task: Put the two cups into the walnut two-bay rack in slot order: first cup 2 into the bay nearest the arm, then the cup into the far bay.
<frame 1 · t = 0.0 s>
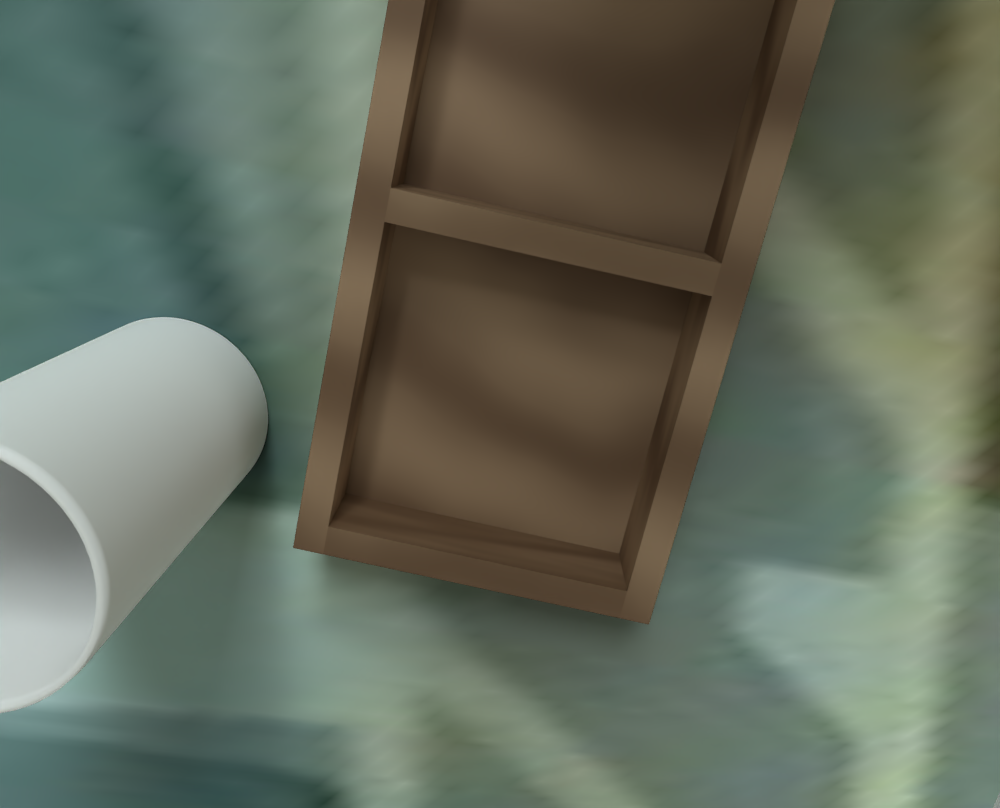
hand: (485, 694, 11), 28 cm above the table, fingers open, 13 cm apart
rack: (550, 230, 37), on the table
cup: (175, 410, 40), on the table
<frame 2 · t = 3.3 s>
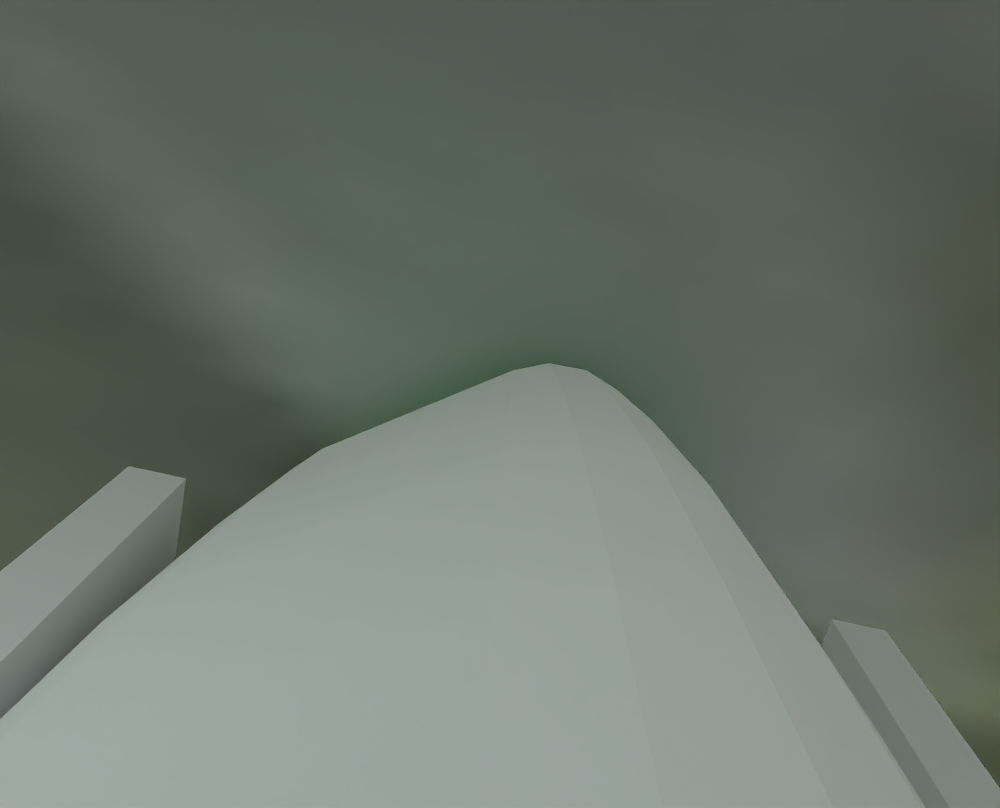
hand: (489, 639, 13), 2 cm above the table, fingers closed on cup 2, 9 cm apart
cup 2: (497, 554, 15), on the table, touching gripper
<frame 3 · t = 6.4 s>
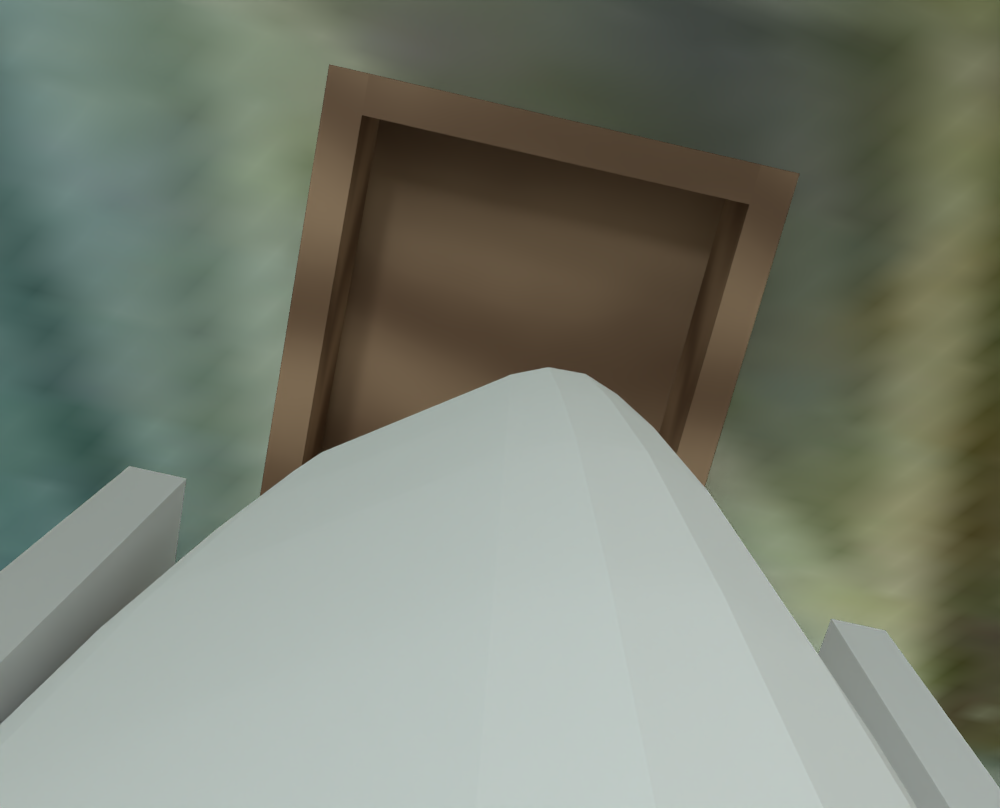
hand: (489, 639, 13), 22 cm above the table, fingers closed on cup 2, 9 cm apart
rack: (477, 487, 36), on the table
cup 2: (496, 558, 15), point 20 cm above the table, touching gripper
when the fingers open (5 cm above the table, at t = 9.8 s): cup 2 drops 2 cm, point 1 cm above the table.
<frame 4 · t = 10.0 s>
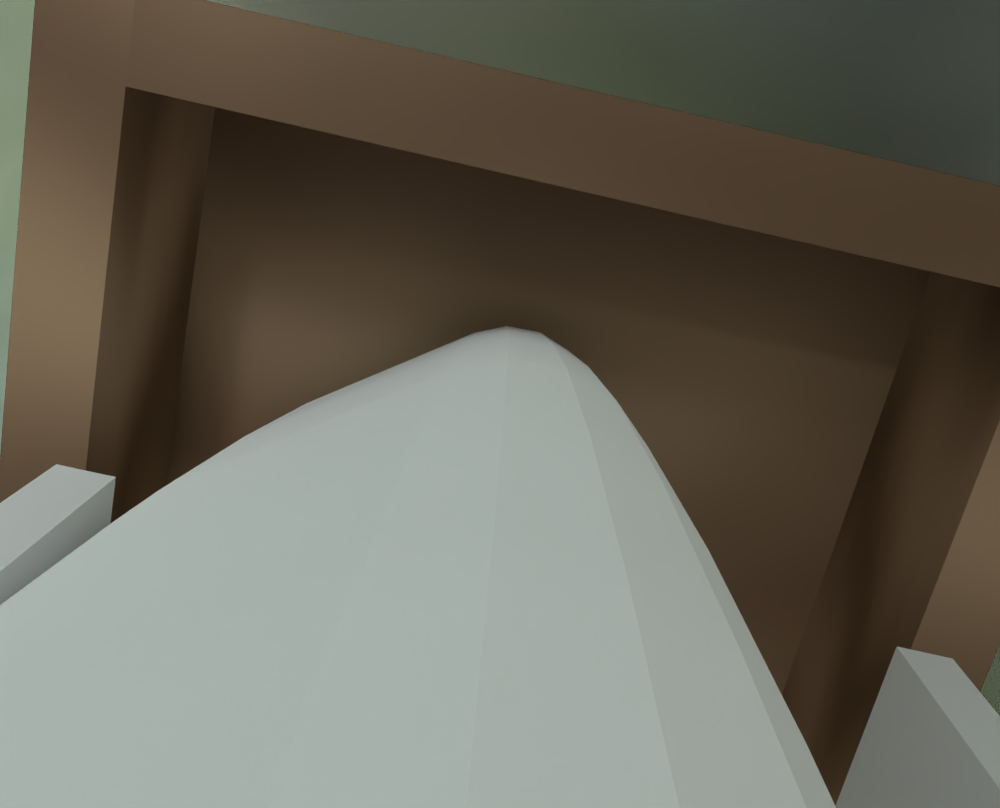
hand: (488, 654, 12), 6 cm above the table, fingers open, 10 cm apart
rack: (432, 781, 20), on the table
cup 2: (464, 502, 17), point 1 cm above the table, touching gripper
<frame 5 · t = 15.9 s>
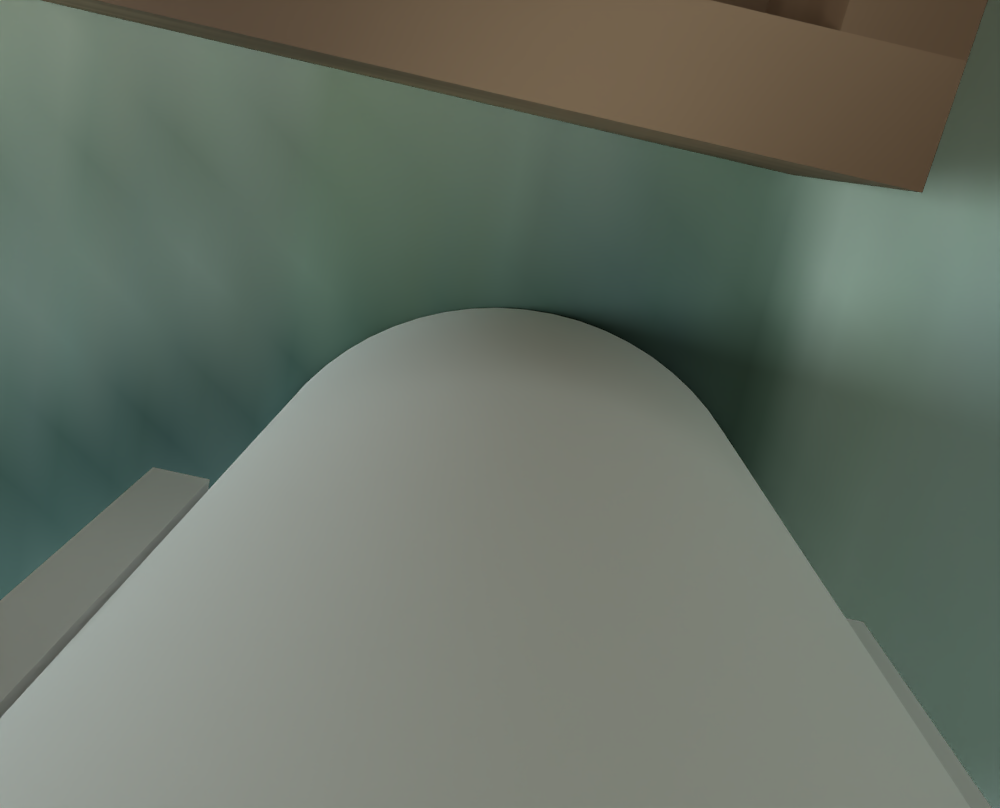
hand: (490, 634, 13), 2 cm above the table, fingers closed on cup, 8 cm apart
cup: (496, 555, 15), on the table, touching gripper
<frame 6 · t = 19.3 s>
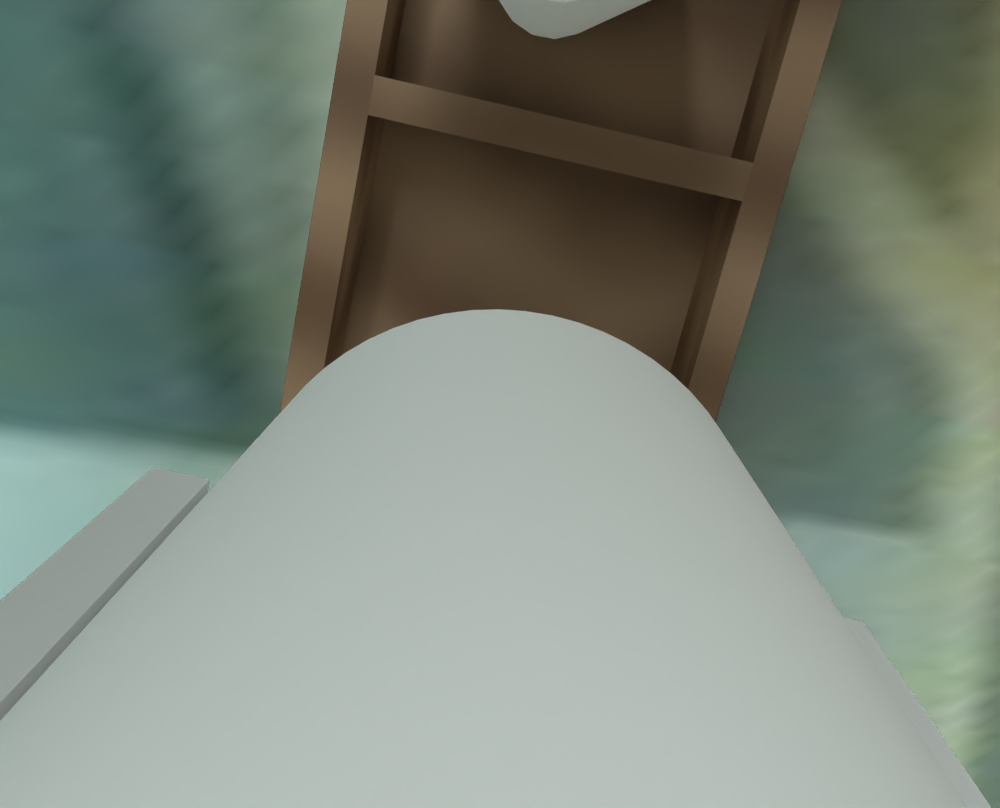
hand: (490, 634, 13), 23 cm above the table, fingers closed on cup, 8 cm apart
rack: (556, 138, 33), on the table
cup: (496, 556, 15), point 21 cm above the table, touching gripper
when the fingers open (5 cm above the table, at t = 22.8 s): cup drops 2 cm, resting on rack.
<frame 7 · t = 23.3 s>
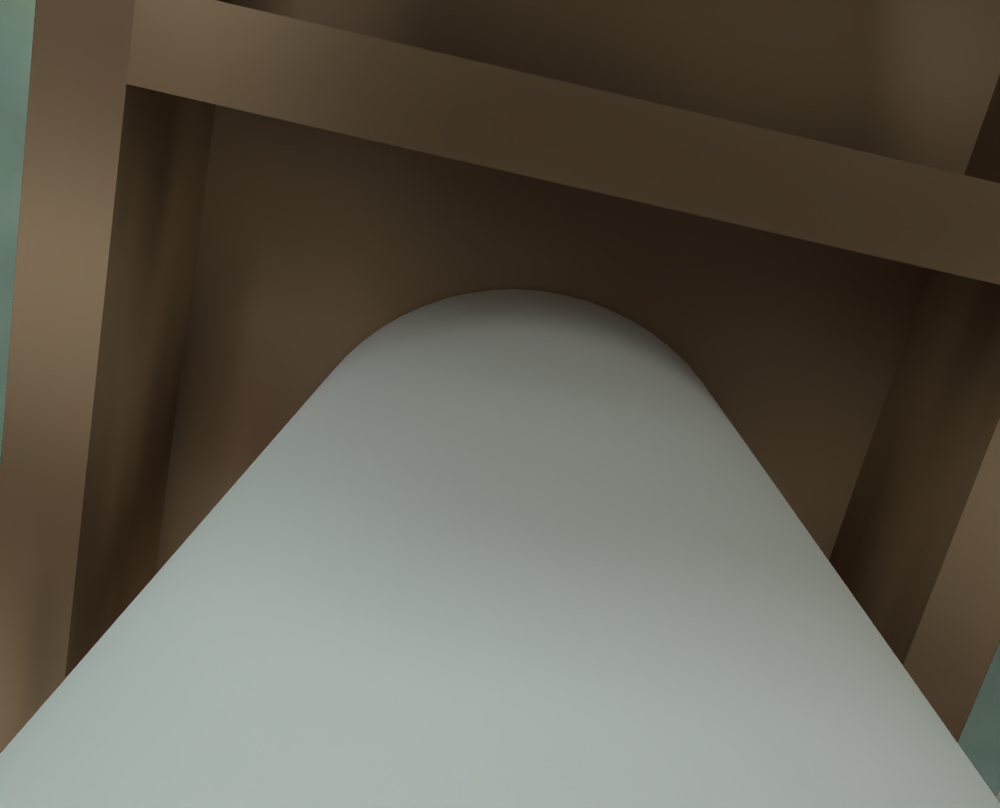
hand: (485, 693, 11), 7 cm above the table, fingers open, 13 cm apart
rack: (585, 142, 16), on the table
cup: (512, 510, 17), point 1 cm above the table, touching rack
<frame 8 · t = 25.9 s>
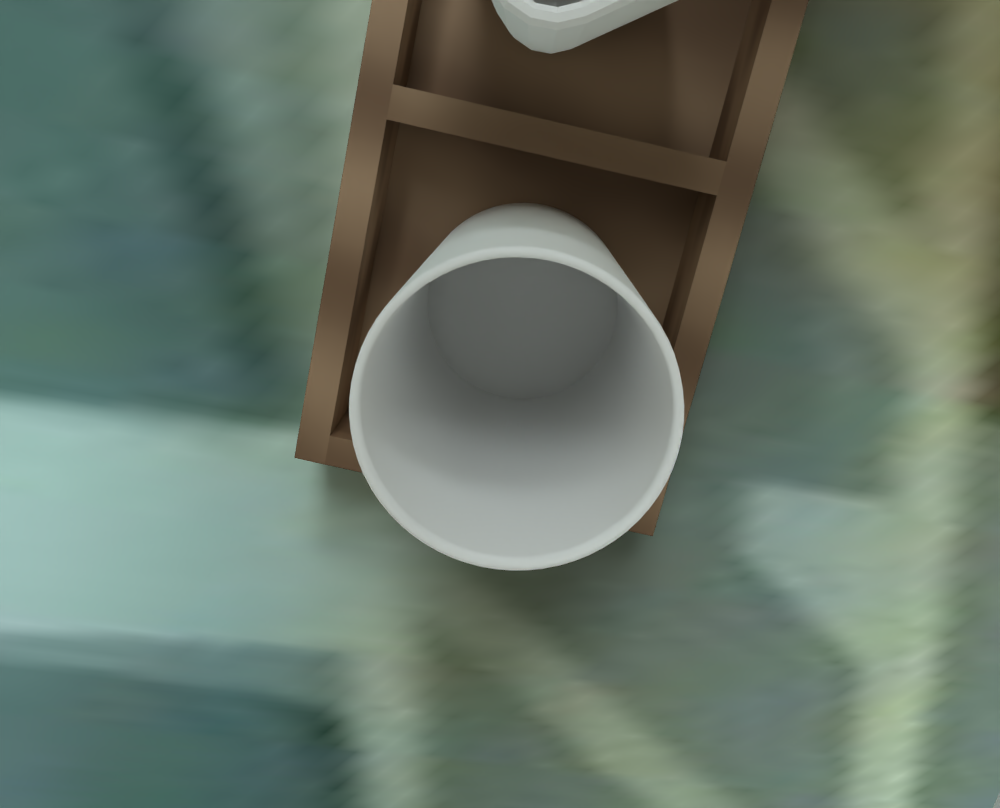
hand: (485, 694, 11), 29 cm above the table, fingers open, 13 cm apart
rack: (553, 140, 37), on the table
cup: (522, 304, 38), point 1 cm above the table, touching rack
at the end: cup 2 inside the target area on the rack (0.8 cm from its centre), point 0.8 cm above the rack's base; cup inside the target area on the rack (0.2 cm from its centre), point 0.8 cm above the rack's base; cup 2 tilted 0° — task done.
